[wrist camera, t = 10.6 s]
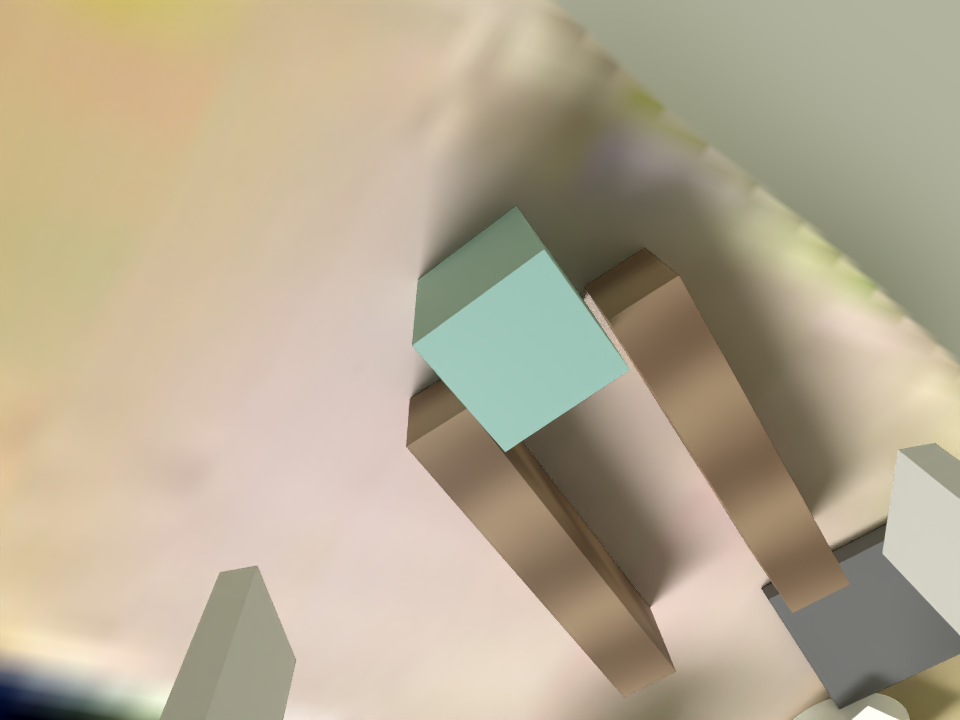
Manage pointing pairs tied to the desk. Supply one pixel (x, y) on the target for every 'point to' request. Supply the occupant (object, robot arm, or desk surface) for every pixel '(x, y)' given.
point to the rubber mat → (868, 626)
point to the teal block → (511, 332)
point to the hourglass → (858, 710)
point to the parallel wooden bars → (560, 530)
